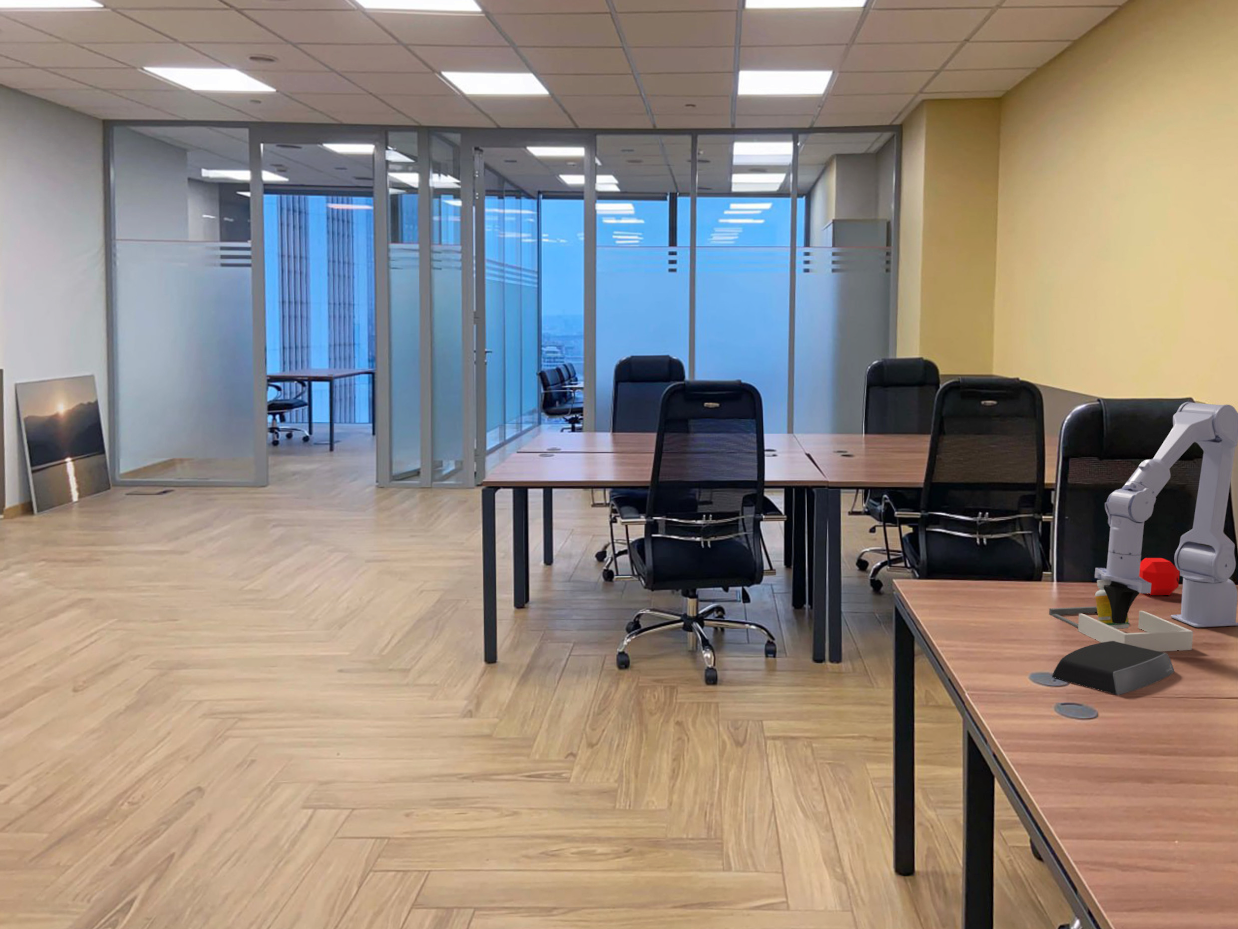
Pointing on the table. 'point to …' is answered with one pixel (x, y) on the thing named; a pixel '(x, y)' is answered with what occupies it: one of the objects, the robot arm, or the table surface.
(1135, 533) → the robot arm
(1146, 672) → the external hard drive
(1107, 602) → the supplement bottle
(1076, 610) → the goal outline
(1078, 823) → the table surface
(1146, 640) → the bay
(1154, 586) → the ball
